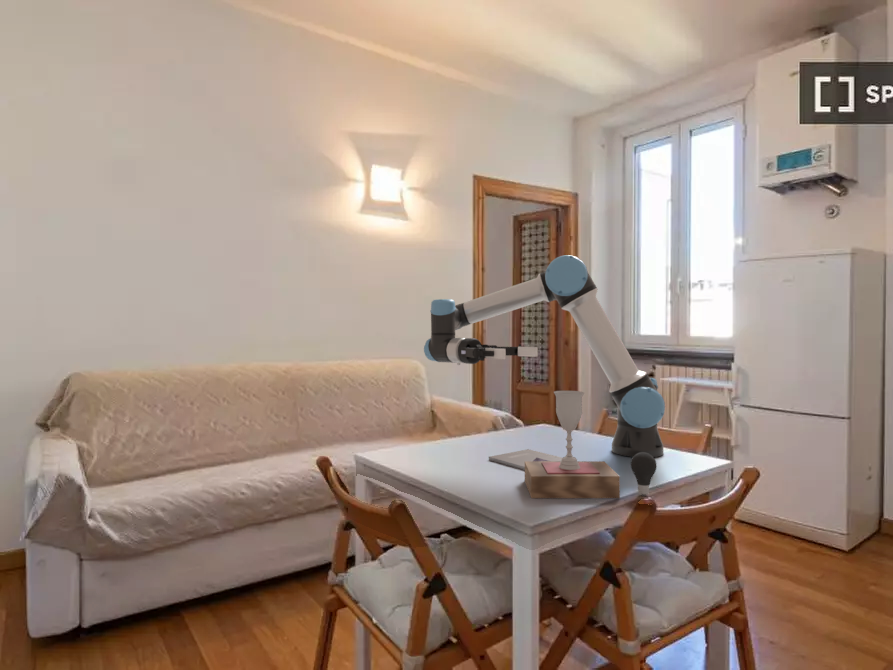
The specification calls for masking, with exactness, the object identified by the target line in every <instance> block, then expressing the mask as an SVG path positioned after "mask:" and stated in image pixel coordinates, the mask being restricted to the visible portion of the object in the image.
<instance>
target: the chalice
mask: <svg viewBox="0 0 893 670" xmlns="http://www.w3.org/2000/svg"><path fill="white" fill-rule="evenodd" d="M553 394H554V395H555V412H556V413H555V414H556V416H557V419H558V421H559V423H560V425H561V428H562V429H563V430H564V431H565V432H566V438H565V440H566V445H565V448H566V455H565V456H563V457H562V460H561V462H560V465H559V468H561V469H566V470H576V469H580V466H579V465H578V464H579V463H578V462H577V461H578V459H577V458H576V457H575V456H573V453H572V450H573V448H574V446H573V444H572V441H573V437H572V433H573V431H575V430H576V429H577V427H578V425H579V423H580V421H581V418H582V414H583V396H584V394H585V392H584V391H580V390H579V391H578V390H555V391H553Z"/></svg>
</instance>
